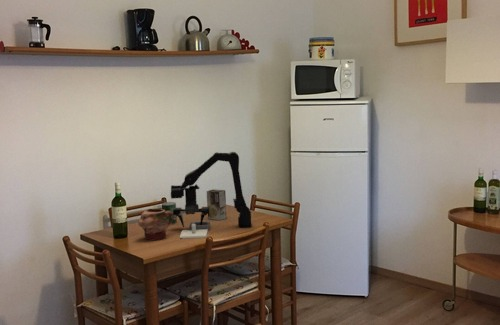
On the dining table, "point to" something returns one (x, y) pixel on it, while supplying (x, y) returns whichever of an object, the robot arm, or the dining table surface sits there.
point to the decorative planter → (155, 223)
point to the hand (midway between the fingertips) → (192, 226)
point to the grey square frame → (204, 225)
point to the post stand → (194, 233)
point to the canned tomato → (170, 207)
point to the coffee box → (216, 204)
